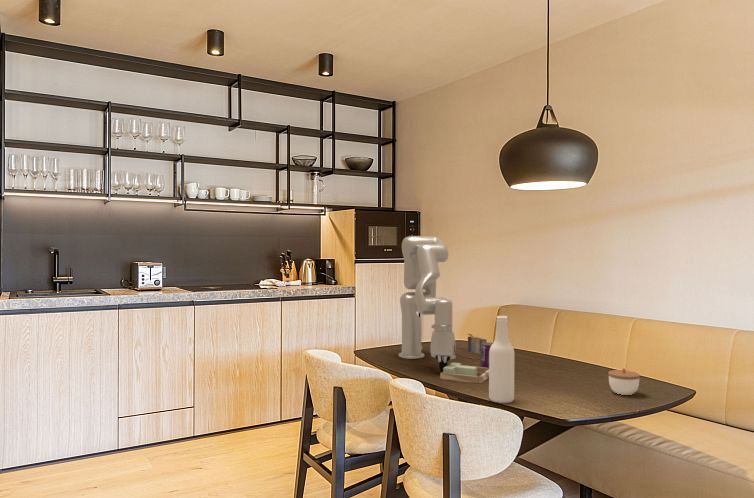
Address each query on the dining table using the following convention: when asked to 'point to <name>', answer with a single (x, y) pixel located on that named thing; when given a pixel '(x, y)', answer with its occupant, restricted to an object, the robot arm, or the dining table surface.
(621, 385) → the lidded jar
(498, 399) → the alcohol
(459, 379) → the oak frame
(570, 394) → the dining table surface
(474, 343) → the ruin model on sheet
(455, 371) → the tee block
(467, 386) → the dining table surface
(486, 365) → the beverage can
